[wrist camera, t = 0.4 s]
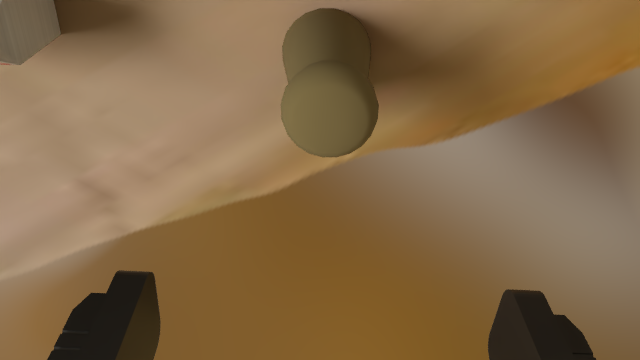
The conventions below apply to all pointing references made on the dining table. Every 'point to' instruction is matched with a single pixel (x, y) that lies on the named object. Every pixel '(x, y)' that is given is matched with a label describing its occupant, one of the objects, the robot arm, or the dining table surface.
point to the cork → (328, 84)
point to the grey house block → (26, 28)
